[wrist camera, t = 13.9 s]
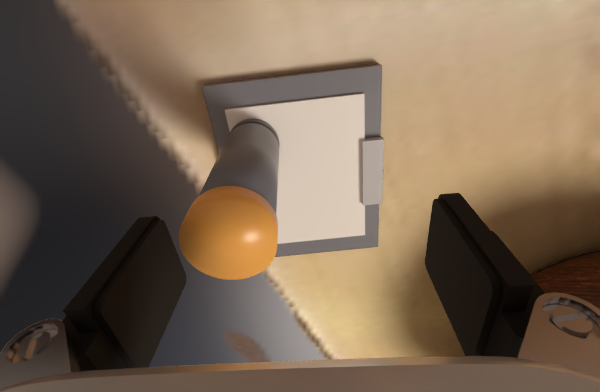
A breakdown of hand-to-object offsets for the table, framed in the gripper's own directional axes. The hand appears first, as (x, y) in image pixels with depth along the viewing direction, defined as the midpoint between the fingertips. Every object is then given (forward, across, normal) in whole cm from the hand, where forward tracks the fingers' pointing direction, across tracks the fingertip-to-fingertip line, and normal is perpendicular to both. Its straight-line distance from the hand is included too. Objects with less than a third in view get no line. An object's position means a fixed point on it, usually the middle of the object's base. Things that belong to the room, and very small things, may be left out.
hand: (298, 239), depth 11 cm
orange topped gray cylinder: (+11, +3, 0) cm, 11 cm away
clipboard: (+12, 0, +4) cm, 12 cm away
